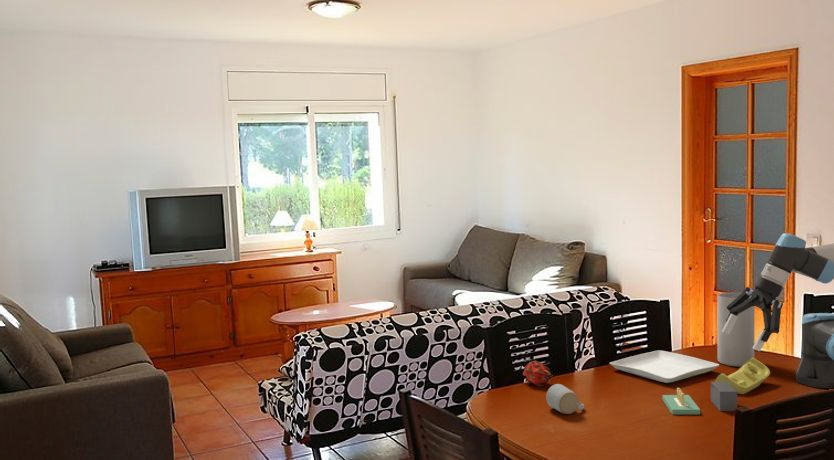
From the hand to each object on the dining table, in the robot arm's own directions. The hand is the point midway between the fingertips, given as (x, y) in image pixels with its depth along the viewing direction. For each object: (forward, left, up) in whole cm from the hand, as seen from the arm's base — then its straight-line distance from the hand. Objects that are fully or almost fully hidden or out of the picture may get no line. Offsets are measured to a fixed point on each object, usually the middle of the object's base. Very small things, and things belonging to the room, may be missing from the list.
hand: (740, 341), depth 240 cm
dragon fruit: (+63, -15, -18) cm, 67 cm away
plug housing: (+7, +7, -18) cm, 20 cm away
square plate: (+18, -29, -18) cm, 39 cm away
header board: (+21, +10, -18) cm, 29 cm away
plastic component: (-4, -12, -18) cm, 22 cm away
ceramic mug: (+55, +12, -18) cm, 60 cm away
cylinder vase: (-10, -40, -18) cm, 46 cm away
